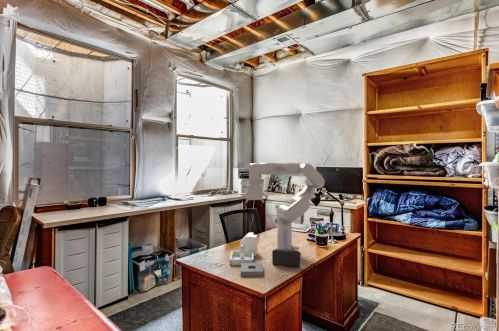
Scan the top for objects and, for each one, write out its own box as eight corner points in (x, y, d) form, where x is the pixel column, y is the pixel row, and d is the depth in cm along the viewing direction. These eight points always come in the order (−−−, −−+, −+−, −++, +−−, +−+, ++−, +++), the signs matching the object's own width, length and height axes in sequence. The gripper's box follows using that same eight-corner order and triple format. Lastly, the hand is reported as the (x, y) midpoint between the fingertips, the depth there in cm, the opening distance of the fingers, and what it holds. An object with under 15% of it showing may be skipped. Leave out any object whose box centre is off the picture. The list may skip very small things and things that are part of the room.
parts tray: (253, 256, 179) (253, 250, 179) (253, 266, 163) (253, 259, 163) (231, 256, 179) (231, 250, 179) (229, 266, 163) (229, 259, 163)
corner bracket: (255, 255, 180) (255, 237, 180) (238, 254, 183) (238, 236, 182) (258, 250, 191) (258, 232, 190) (242, 249, 193) (242, 232, 193)
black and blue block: (300, 265, 164) (300, 249, 164) (300, 268, 160) (300, 251, 160) (273, 262, 168) (273, 247, 168) (272, 265, 163) (272, 249, 163)
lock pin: (244, 258, 172) (244, 244, 172) (244, 260, 169) (244, 245, 169) (239, 258, 172) (239, 244, 172) (239, 260, 169) (239, 245, 169)
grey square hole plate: (262, 268, 160) (262, 263, 160) (263, 277, 148) (263, 271, 148) (241, 268, 160) (241, 262, 160) (240, 277, 148) (240, 271, 148)
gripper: (267, 181, 184) (267, 207, 185) (241, 181, 184) (241, 207, 185) (268, 182, 177) (268, 209, 177) (241, 182, 177) (241, 209, 177)
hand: (254, 208), depth 181 cm, fingers open, 9 cm apart
